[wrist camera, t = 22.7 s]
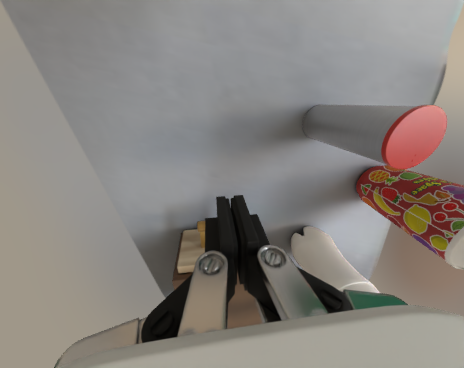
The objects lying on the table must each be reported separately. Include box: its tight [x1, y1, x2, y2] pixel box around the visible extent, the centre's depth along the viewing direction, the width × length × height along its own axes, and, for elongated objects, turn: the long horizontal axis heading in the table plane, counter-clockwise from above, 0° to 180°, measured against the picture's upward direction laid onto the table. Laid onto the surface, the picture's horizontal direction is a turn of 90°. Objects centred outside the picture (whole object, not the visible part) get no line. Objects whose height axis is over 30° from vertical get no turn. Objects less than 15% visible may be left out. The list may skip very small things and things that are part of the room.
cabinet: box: [172, 233, 263, 329], centre depth 28 cm, size 14×13×9 cm
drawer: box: [177, 221, 205, 274], centre depth 27 cm, size 17×11×7 cm
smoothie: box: [356, 165, 464, 269], centre depth 20 cm, size 8×8×20 cm
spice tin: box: [303, 105, 447, 169], centre depth 18 cm, size 5×5×12 cm
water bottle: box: [291, 226, 380, 293], centre depth 22 cm, size 7×7×25 cm
